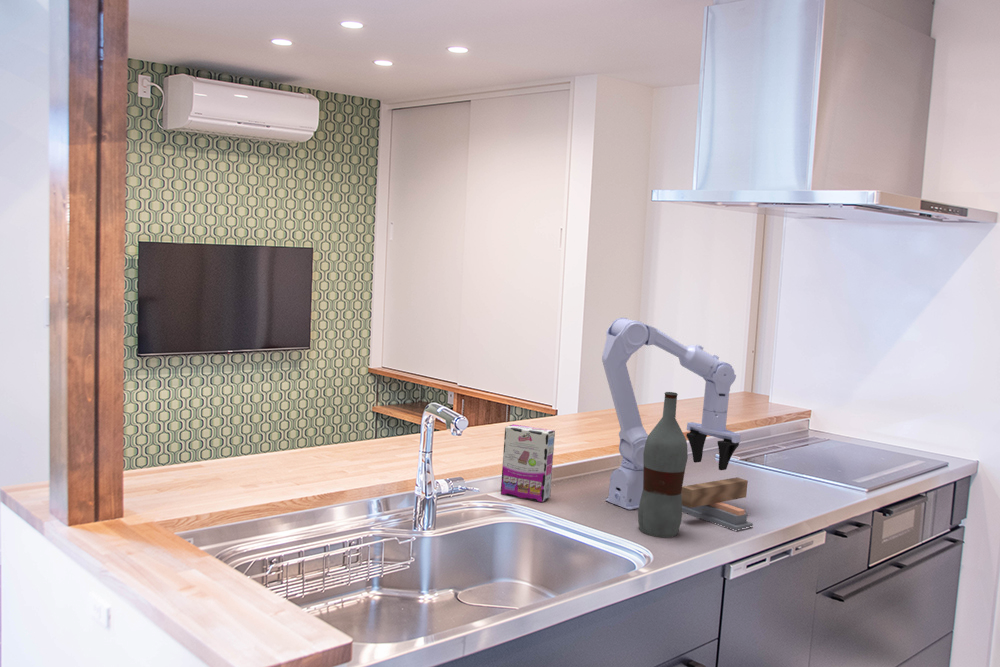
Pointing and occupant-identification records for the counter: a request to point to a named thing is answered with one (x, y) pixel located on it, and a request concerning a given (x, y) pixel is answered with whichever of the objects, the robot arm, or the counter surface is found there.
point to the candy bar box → (527, 462)
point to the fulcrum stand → (720, 515)
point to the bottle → (663, 474)
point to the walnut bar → (713, 492)
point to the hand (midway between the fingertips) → (709, 465)
